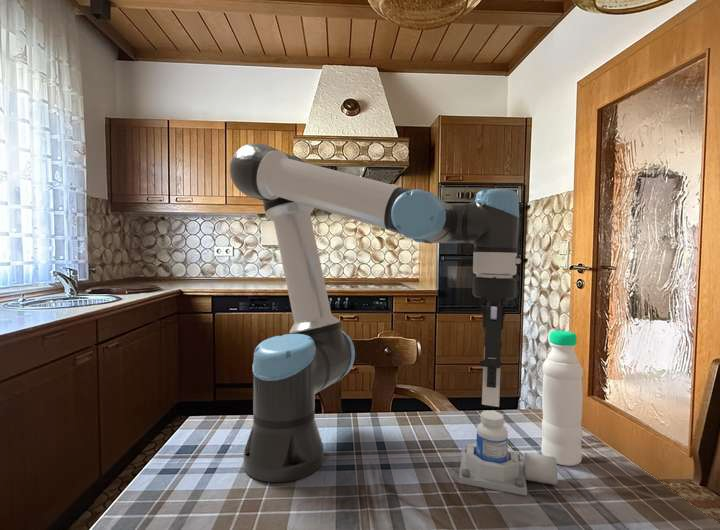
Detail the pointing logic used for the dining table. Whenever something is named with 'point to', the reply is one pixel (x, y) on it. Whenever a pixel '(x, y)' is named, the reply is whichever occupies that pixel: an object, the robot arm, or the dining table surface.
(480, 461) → the fitting
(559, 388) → the water bottle
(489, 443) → the pill bottle
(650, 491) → the dining table surface
